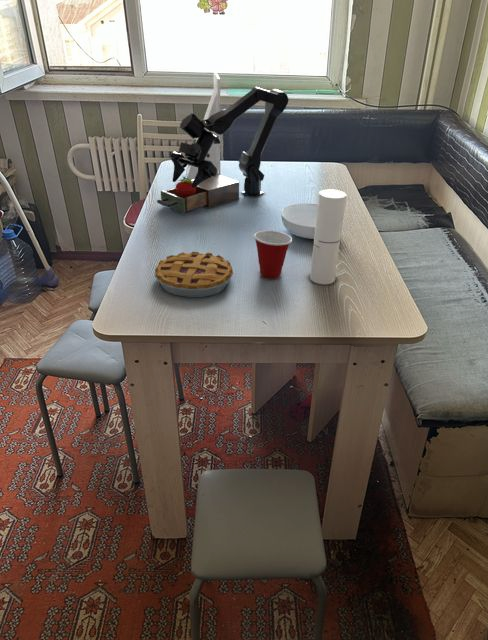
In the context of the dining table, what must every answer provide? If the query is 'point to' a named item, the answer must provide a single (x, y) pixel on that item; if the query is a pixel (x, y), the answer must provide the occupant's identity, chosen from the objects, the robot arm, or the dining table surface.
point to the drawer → (183, 200)
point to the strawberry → (185, 188)
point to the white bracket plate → (215, 149)
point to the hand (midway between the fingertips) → (182, 184)
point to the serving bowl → (300, 219)
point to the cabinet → (219, 190)
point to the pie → (194, 274)
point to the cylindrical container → (327, 235)
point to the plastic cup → (271, 252)
